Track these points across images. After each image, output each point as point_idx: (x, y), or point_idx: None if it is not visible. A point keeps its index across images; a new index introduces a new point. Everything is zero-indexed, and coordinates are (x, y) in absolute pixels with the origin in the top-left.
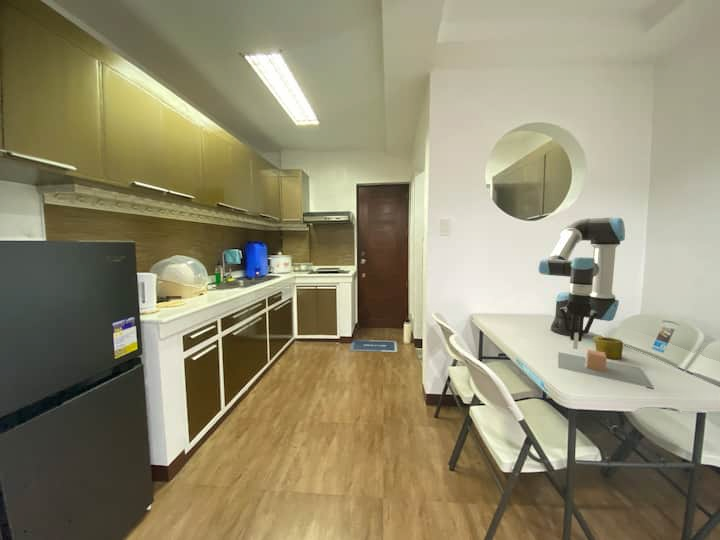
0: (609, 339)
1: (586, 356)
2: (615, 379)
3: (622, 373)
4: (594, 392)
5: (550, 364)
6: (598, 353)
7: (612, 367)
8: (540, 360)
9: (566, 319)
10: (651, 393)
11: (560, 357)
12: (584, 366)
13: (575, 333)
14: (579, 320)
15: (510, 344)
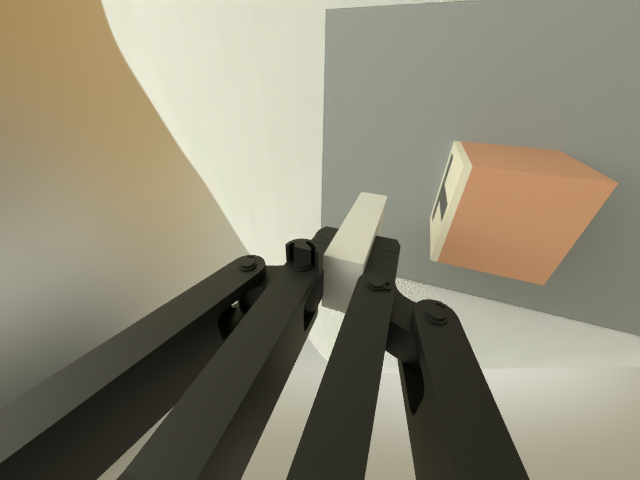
0: None
1: (441, 210)
2: (511, 300)
3: (622, 227)
4: (392, 363)
5: (298, 228)
6: (521, 234)
7: (626, 149)
8: (265, 202)
9: (146, 420)
10: (599, 361)
11: (333, 128)
12: (426, 207)
13: (331, 296)
14: (294, 471)
15: (117, 36)
